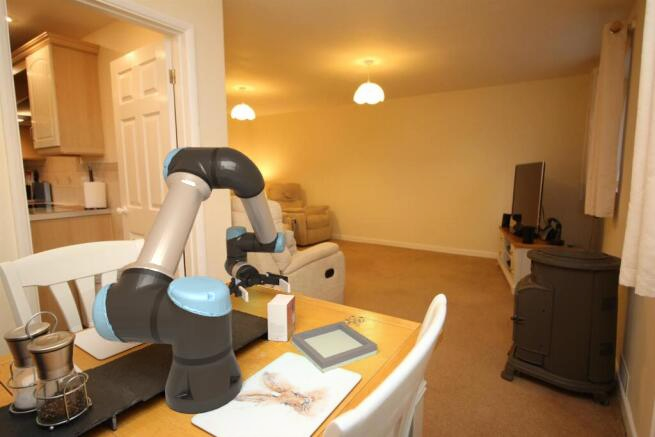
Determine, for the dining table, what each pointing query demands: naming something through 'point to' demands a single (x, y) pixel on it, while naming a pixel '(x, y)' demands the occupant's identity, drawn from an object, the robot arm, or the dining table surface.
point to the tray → (333, 346)
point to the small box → (281, 317)
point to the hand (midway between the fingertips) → (268, 292)
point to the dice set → (352, 321)
